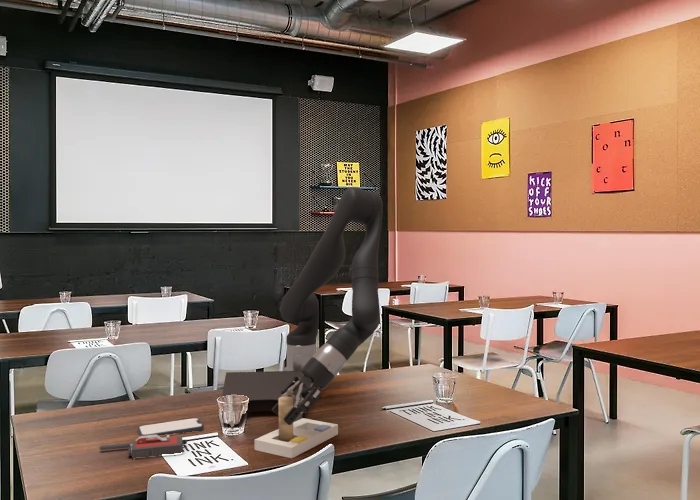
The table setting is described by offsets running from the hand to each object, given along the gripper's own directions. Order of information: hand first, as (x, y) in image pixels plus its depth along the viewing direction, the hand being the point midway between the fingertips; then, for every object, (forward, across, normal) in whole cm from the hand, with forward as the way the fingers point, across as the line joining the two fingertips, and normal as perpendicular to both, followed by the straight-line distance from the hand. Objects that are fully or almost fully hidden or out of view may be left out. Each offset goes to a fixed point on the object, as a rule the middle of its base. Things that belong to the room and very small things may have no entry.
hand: (280, 417), depth 149 cm
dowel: (+4, 0, +6) cm, 8 cm away
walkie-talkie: (+27, -12, -16) cm, 33 cm away
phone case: (+21, -26, -10) cm, 35 cm away
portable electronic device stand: (+3, -27, +8) cm, 28 cm away
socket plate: (+1, -3, +9) cm, 10 cm away
